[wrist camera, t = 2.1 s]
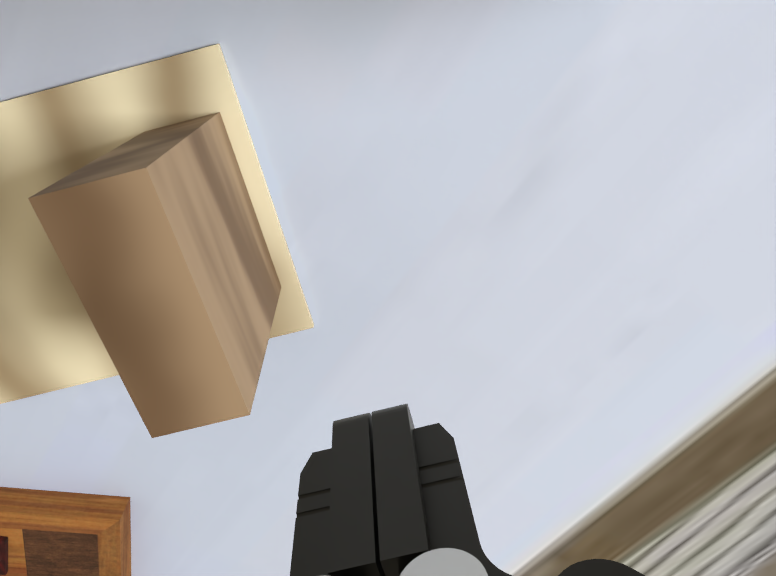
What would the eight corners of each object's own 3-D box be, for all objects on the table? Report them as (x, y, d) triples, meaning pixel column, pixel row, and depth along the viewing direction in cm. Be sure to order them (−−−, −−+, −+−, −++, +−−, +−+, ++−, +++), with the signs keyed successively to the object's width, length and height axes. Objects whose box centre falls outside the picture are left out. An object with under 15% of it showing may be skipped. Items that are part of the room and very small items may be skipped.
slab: (219, 111, 30) (146, 167, 19) (281, 287, 34) (249, 414, 23) (143, 131, 30) (28, 198, 19) (214, 303, 34) (152, 438, 23)
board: (219, 43, 29) (217, 43, 29) (313, 324, 36) (313, 327, 35) (-163, 145, 30) (-169, 147, 30) (-1, 401, 37) (-5, 404, 36)
